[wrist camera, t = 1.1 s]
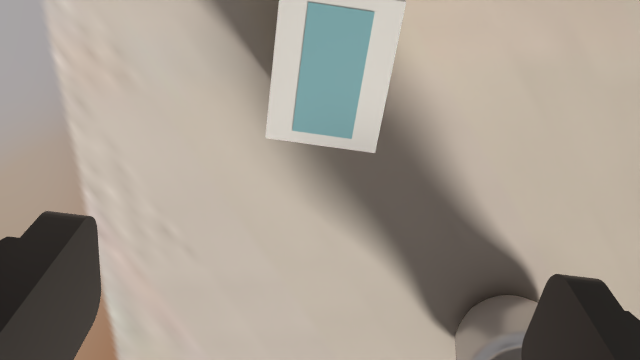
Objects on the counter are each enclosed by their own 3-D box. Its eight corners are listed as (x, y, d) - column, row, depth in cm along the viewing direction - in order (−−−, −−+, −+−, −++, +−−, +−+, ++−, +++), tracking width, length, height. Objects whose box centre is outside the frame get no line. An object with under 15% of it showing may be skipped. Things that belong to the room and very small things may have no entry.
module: (390, -22, 25) (406, 2, 19) (367, 103, 27) (375, 153, 22) (292, -37, 24) (280, -17, 19) (278, 90, 27) (264, 138, 22)
